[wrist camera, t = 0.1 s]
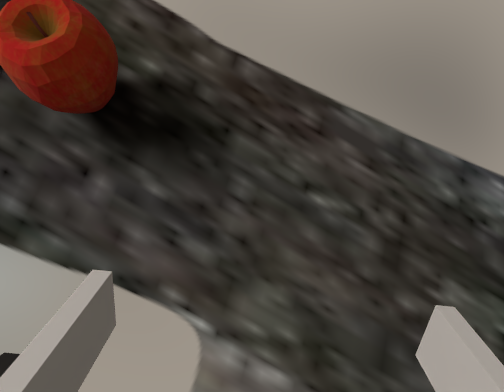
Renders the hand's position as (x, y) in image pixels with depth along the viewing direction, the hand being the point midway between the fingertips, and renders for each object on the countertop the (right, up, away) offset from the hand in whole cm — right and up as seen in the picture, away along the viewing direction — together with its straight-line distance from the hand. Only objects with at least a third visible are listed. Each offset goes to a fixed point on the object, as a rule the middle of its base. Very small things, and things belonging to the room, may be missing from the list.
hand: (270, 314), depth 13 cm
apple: (-17, +15, +19) cm, 29 cm away
